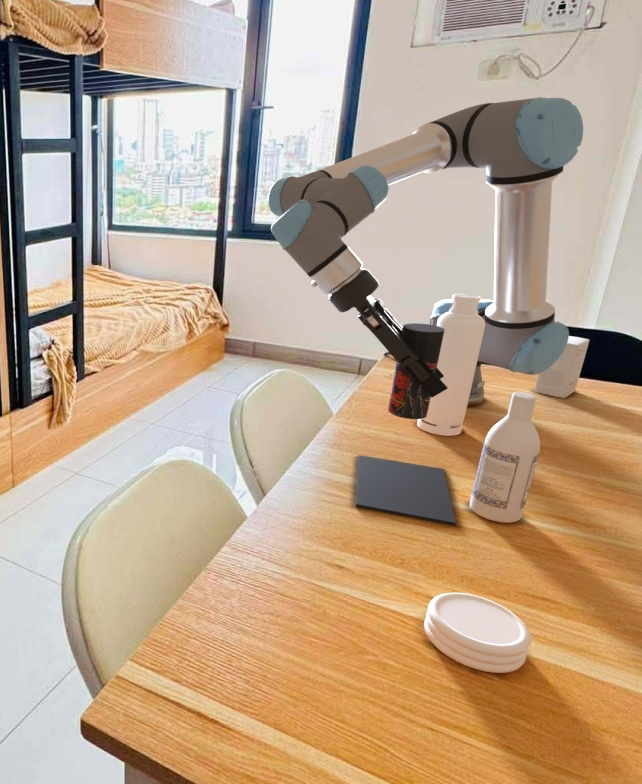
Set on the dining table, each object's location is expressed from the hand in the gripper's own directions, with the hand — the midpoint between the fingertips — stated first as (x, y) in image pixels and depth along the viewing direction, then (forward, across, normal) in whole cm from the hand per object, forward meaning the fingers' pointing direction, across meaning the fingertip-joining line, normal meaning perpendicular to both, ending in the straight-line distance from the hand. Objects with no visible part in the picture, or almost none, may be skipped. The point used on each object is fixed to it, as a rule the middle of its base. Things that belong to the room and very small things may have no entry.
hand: (437, 386), depth 104 cm
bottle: (+16, -28, -9) cm, 33 cm away
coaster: (+15, +42, -10) cm, 46 cm away
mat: (+11, +4, -14) cm, 18 cm away
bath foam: (+20, +7, -5) cm, 22 cm away
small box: (+35, -64, +10) cm, 74 cm away
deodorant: (+1, 0, -6) cm, 7 cm away
